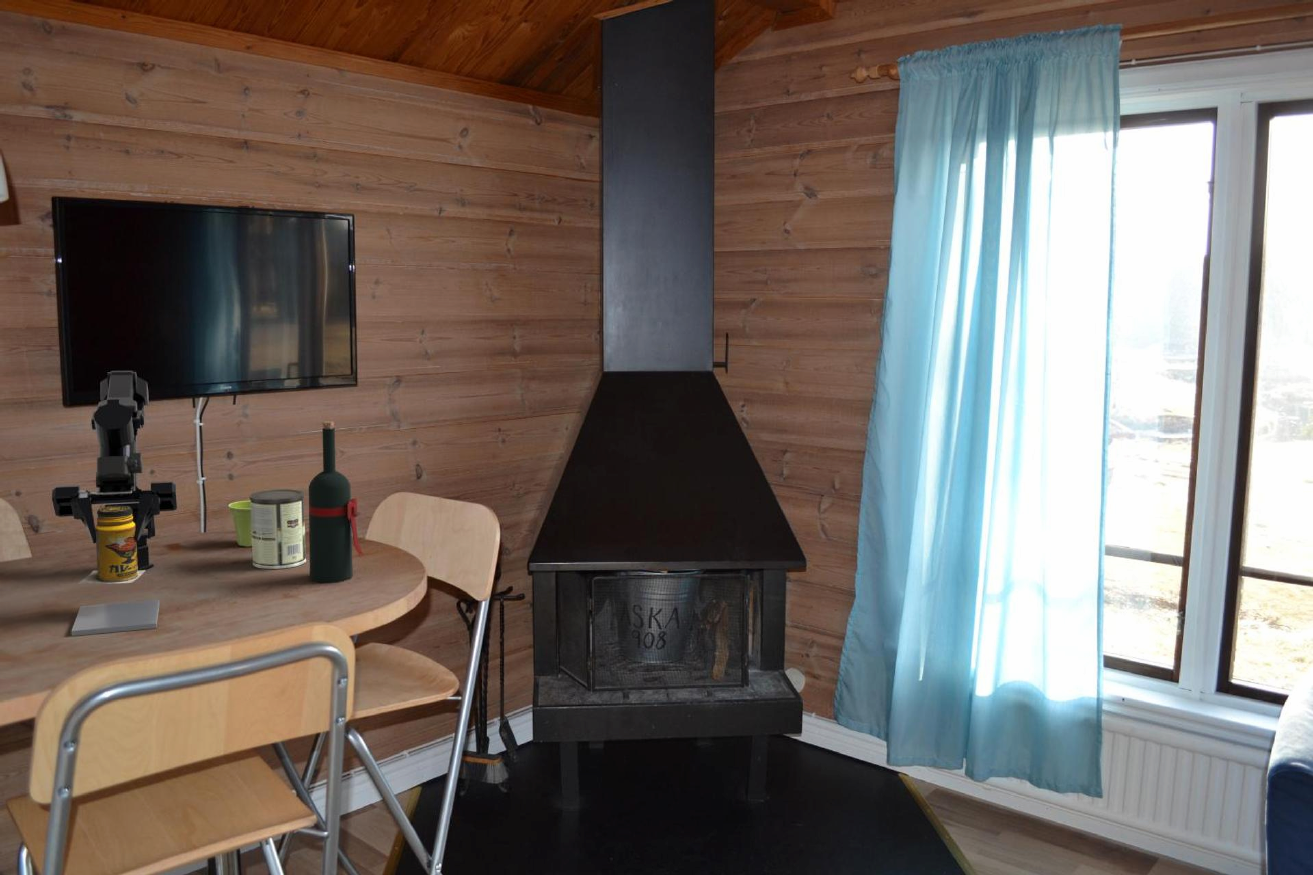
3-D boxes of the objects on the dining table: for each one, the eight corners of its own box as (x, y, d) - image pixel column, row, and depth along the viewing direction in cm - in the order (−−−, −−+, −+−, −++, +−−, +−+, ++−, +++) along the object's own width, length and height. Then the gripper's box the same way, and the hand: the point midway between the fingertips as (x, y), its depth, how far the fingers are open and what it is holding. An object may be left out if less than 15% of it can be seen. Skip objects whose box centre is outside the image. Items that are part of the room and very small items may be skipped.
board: (81, 610, 178) (80, 605, 177) (159, 603, 182) (159, 599, 182) (71, 635, 165) (71, 631, 165) (156, 627, 170) (156, 623, 169)
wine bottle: (354, 584, 197) (351, 425, 193) (302, 581, 198) (298, 423, 194) (370, 573, 204) (368, 420, 200) (320, 570, 206) (317, 418, 202)
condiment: (132, 583, 174) (129, 512, 173) (77, 584, 173) (73, 513, 171) (146, 571, 181) (143, 503, 180) (93, 572, 180) (90, 503, 178)
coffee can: (269, 554, 217) (267, 487, 215) (315, 558, 215) (314, 490, 213) (241, 567, 207) (238, 497, 205) (289, 571, 205) (287, 500, 203)
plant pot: (248, 537, 232) (247, 498, 231) (285, 541, 229) (284, 501, 228) (219, 546, 223) (218, 506, 222) (257, 550, 220) (256, 510, 219)
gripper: (49, 438, 174) (44, 518, 166) (173, 435, 181) (175, 510, 173) (58, 477, 182) (53, 554, 174) (176, 472, 190) (177, 546, 181)
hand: (115, 540), depth 175 cm, fingers closed on condiment, 6 cm apart
